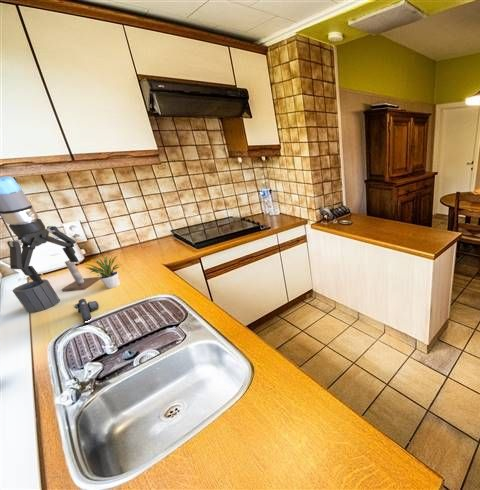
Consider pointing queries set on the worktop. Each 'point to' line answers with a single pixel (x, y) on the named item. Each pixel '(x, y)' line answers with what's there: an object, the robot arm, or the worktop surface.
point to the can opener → (86, 308)
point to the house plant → (106, 272)
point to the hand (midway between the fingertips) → (57, 270)
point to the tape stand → (78, 279)
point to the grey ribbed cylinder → (36, 296)
